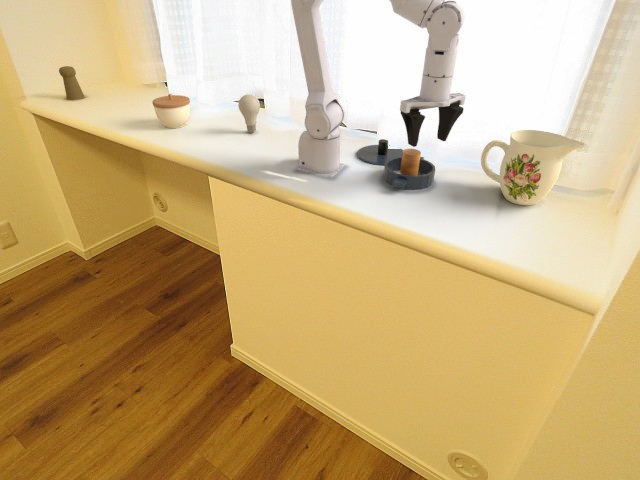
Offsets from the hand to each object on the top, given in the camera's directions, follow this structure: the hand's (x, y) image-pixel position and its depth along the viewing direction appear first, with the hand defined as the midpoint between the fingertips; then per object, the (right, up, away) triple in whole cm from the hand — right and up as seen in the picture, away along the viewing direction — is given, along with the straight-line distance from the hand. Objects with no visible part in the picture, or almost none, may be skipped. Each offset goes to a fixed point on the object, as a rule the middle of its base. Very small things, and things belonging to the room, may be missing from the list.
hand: (427, 142), depth 86 cm
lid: (-7, +1, +19) cm, 20 cm away
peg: (-2, -7, +8) cm, 10 cm away
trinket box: (-68, +15, +41) cm, 80 cm away
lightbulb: (-43, +11, +35) cm, 57 cm away
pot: (-2, -7, +8) cm, 11 cm away
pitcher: (+20, -11, +2) cm, 23 cm away
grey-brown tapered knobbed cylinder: (-114, +33, +67) cm, 136 cm away
